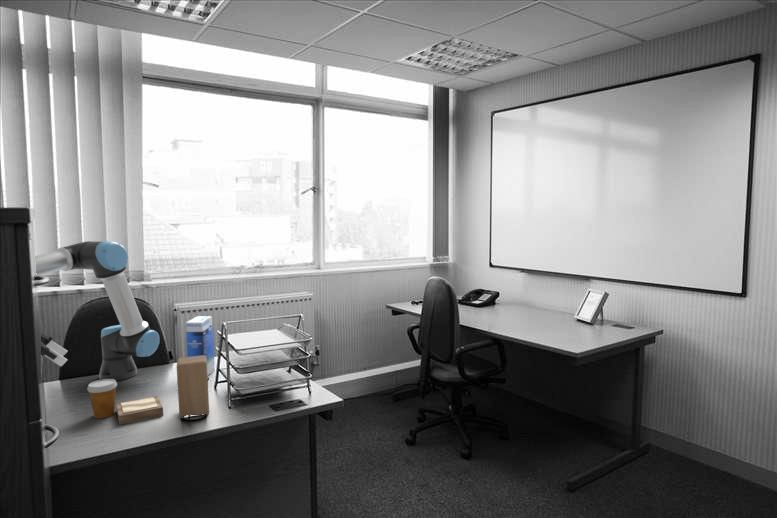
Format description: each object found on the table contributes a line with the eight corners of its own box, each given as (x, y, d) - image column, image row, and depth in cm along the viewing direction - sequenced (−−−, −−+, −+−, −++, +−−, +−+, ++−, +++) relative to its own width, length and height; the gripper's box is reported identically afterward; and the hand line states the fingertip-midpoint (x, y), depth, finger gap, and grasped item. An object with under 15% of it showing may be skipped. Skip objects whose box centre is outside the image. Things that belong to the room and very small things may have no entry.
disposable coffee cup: (124, 409, 186) (122, 378, 185) (109, 420, 177) (107, 387, 176) (99, 409, 187) (97, 378, 186) (83, 420, 177) (80, 387, 176)
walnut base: (116, 411, 185) (115, 402, 184) (157, 403, 192) (157, 395, 192) (119, 424, 173) (118, 415, 173) (163, 415, 180) (162, 406, 180)
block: (180, 409, 185) (177, 357, 183) (208, 405, 189) (206, 354, 187) (179, 420, 176) (176, 364, 174) (209, 415, 179) (206, 361, 178)
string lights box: (199, 370, 232) (196, 316, 230) (215, 370, 232) (213, 315, 230) (188, 379, 219) (184, 322, 217) (205, 379, 219) (202, 322, 217)
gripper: (2, 323, 174) (56, 359, 183) (-7, 337, 153) (55, 376, 162) (20, 307, 176) (72, 342, 185) (13, 318, 155) (73, 358, 164)
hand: (64, 358), depth 174 cm, fingers open, 13 cm apart
